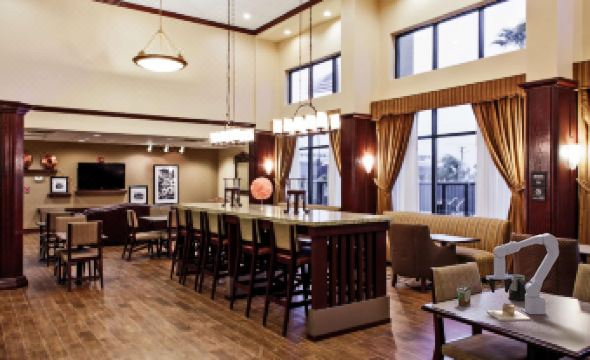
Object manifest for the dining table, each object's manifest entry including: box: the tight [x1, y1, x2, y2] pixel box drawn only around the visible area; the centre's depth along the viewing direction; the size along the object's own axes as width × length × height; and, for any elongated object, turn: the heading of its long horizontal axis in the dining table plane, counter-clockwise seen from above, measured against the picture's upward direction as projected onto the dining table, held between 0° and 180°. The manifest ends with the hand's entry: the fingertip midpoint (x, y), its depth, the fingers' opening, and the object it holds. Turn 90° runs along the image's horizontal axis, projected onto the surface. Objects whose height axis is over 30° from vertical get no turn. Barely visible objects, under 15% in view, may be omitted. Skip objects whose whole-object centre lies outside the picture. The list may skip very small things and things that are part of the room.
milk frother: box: [507, 273, 527, 302], centre depth 259 cm, size 14×16×15 cm
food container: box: [456, 285, 472, 308], centre depth 250 cm, size 12×6×10 cm, turn 141°
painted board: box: [486, 310, 532, 322], centre depth 227 cm, size 16×14×1 cm
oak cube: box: [501, 303, 515, 317], centre depth 227 cm, size 5×5×5 cm
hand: (499, 292), depth 240 cm, fingers open, 7 cm apart
